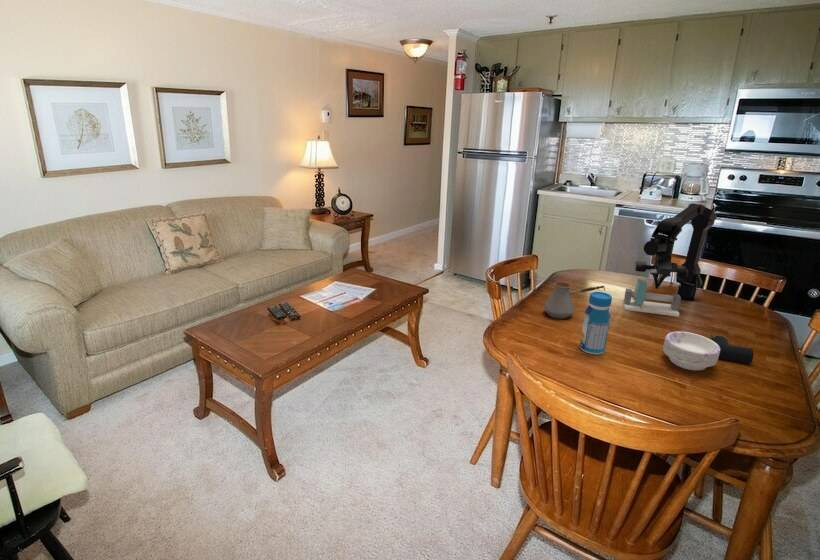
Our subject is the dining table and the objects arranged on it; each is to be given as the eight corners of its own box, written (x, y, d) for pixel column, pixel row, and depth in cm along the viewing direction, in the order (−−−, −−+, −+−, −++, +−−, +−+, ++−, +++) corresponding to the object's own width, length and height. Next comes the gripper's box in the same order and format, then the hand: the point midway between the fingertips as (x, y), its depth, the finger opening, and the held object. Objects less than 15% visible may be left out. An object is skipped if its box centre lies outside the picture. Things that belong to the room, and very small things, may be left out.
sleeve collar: (641, 299, 192) (645, 279, 189) (643, 304, 186) (647, 284, 183) (633, 298, 193) (637, 278, 190) (635, 303, 187) (639, 283, 184)
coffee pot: (541, 317, 179) (545, 281, 174) (546, 307, 189) (550, 273, 184) (598, 328, 170) (605, 291, 165) (600, 316, 180) (606, 281, 175)
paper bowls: (715, 381, 136) (721, 357, 134) (658, 366, 144) (663, 344, 141) (714, 360, 149) (720, 338, 146) (662, 347, 156) (667, 327, 154)
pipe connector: (694, 329, 159) (744, 336, 154) (690, 342, 161) (740, 350, 156) (701, 344, 149) (755, 352, 144) (697, 358, 151) (750, 366, 146)
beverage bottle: (593, 357, 149) (602, 301, 142) (573, 346, 156) (581, 292, 149) (610, 352, 153) (620, 297, 146) (590, 341, 160) (599, 288, 153)
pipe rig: (674, 307, 190) (677, 292, 188) (678, 316, 181) (682, 300, 179) (622, 301, 196) (625, 286, 194) (624, 309, 187) (627, 293, 185)
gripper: (640, 254, 176) (633, 292, 181) (695, 260, 170) (686, 298, 175) (637, 247, 186) (630, 283, 191) (688, 252, 180) (680, 289, 185)
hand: (656, 288), depth 185 cm, fingers closed
